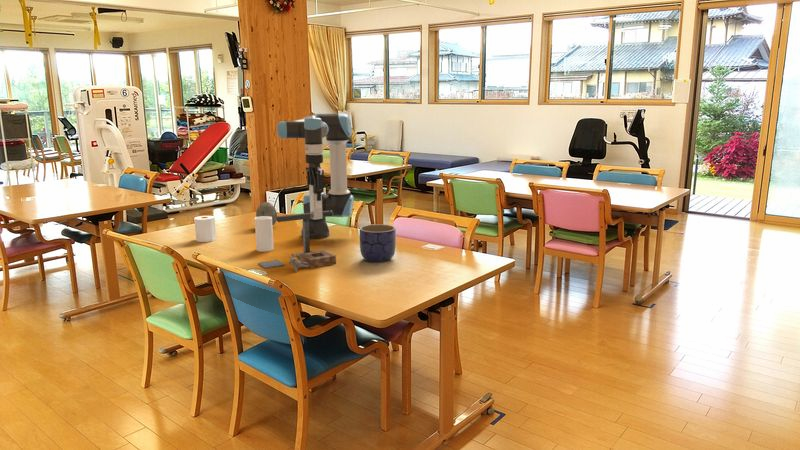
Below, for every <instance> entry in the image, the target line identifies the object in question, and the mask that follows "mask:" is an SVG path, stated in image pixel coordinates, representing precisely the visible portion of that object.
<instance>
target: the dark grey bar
mask: <svg viewBox="0 0 800 450" xmlns="http://www.w3.org/2000/svg"><path fill="white" fill-rule="evenodd" d="M332 215H333V211H331V210H329V211H322V216H323V217H326V218H327V217H328V216H332ZM308 219H310V213H304V212H303V213H297V214H294V213H293V214H287V215H277V218H276V223H281V222H293V221H300V220H301V221H305V222H306V221H308Z"/></svg>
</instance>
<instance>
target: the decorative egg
mask: <svg viewBox="0 0 800 450" xmlns="http://www.w3.org/2000/svg"><path fill="white" fill-rule="evenodd" d="M259 216H271V217H272V227H273V226H275V224H276V223H277V221H276V218H277V216H278V212H277V210H276V207H275V206H274V205H273V204H272V203H270V202H268V201H264V202H262V203H260V204H259V205H258V206H257V208H256V213H255V217H259Z"/></svg>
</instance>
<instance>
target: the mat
mask: <svg viewBox="0 0 800 450" xmlns="http://www.w3.org/2000/svg"><path fill="white" fill-rule="evenodd" d="M257 265H259V266H260V267H262V268H263V269H266V270H267V269H272V268H279V267H285V265H286V264H285V263H283V262H281V261H280V260H278V259H273V260H268V261H267V260H265V261H261V262H257Z"/></svg>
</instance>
